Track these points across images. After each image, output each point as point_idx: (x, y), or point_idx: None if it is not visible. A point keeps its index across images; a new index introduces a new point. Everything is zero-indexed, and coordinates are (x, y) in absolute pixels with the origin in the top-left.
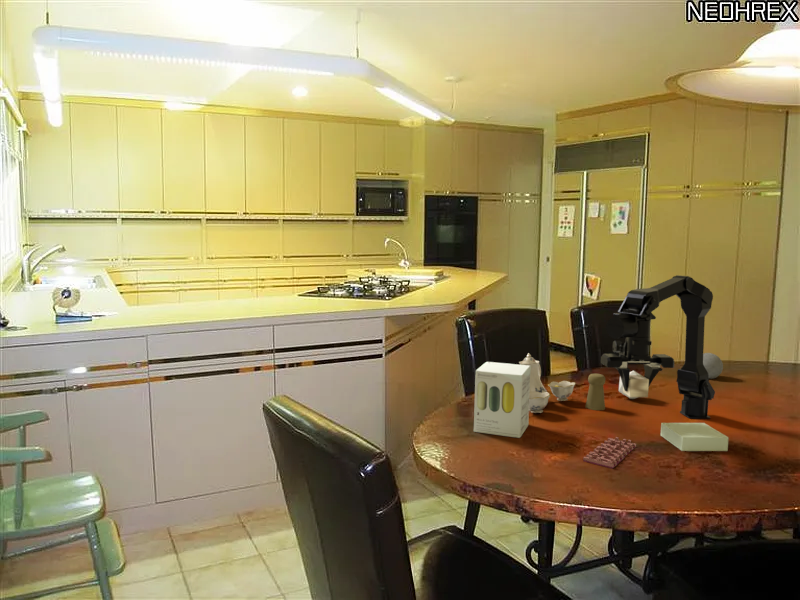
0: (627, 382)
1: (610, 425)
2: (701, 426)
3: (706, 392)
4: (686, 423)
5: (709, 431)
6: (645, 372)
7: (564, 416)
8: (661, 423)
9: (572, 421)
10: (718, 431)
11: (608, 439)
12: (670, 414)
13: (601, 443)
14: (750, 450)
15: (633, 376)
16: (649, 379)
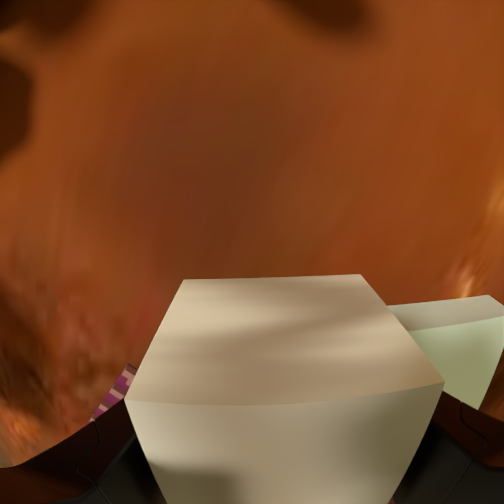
0: None
1: (181, 177)
2: (481, 355)
3: None
4: (461, 331)
5: (463, 399)
6: (461, 480)
7: (33, 75)
8: None
9: (41, 138)
10: (485, 393)
11: (124, 373)
12: (497, 48)
13: (99, 406)
14: (496, 391)
15: (266, 465)
16: (398, 500)
